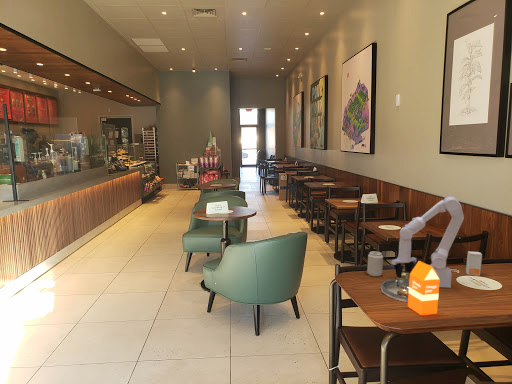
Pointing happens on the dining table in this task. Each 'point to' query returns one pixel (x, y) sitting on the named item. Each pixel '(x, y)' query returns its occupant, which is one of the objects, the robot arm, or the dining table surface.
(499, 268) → the dining table surface
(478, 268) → the skincare box
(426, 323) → the dining table surface
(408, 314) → the dining table surface
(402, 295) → the carrier
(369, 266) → the can
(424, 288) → the orange juice
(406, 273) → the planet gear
